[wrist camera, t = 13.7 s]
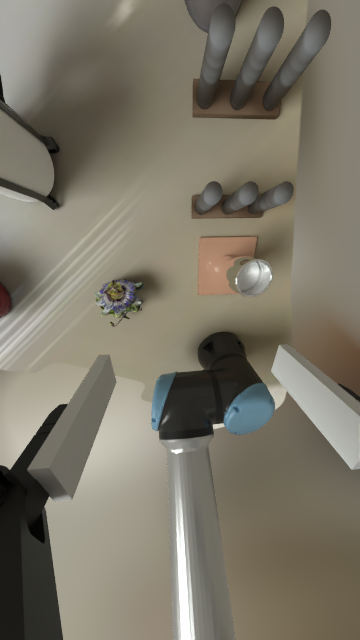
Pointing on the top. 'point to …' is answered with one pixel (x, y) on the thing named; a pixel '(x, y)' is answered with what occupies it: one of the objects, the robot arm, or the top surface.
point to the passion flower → (119, 298)
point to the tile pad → (212, 253)
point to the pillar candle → (207, 10)
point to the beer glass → (245, 274)
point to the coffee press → (24, 159)
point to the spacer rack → (249, 97)
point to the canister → (4, 301)
